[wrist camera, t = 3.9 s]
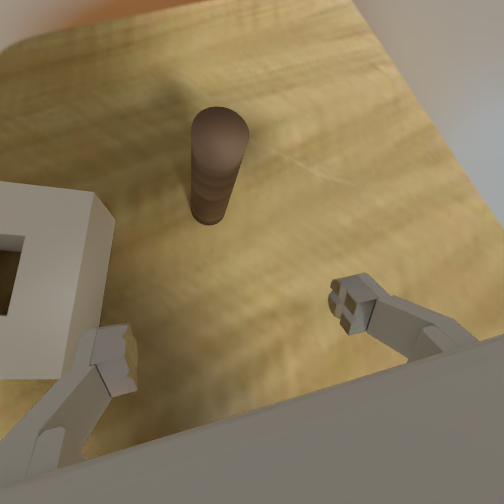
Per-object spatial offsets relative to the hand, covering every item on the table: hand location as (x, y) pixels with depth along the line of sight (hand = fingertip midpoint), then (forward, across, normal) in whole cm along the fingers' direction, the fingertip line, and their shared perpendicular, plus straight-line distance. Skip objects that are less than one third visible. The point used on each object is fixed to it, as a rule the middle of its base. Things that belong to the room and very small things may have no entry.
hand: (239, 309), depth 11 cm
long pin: (+17, -1, +4) cm, 18 cm away
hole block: (+14, +14, +6) cm, 21 cm away
